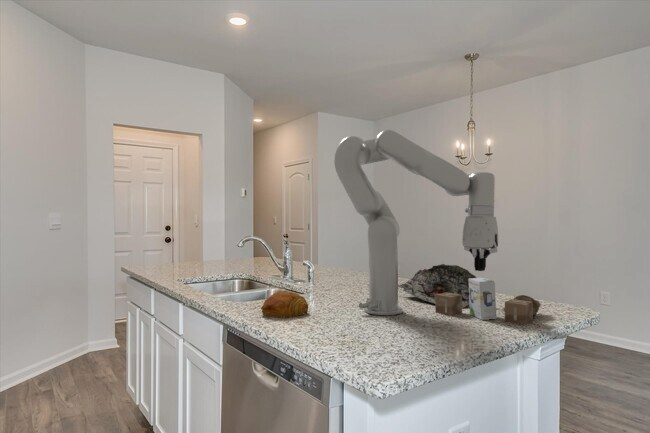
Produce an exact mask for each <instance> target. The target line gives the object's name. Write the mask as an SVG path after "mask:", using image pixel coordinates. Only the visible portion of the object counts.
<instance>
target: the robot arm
mask: <svg viewBox="0 0 650 433" xmlns="http://www.w3.org/2000/svg"><path fill="white" fill-rule="evenodd" d="M388 160H391V161H392V162H394V163H395V164H397V165H399V166H401V167H402V168H404V169H405V170H407V171H409V173H413V174H415V175H416V176H421V177H423V178H425V179H427V180H428V181H430V182H432V183H434V184H436V185H437V186H438V187H441V188H442V189H444V191H445V192H446V194H448V195H449V196H452V197H460V196H461V197H462V196H468V207H467V208H465V210H464V211H465V214H466V213H467V215H468V216H465V217H464V224H463V230H462V239H461V240H462V241H461V242H462V243H461V244H462V246H463V247H464V248H463V250H464V251H467V252H470V254H471V255H472V257H473V258H474V260H473V262H474V264H473V265H474V271H475V272H476V271H478V272H484V271H485V270H486V266H487V258H488V257H489V255H491V254H495V253H498V247H499V230H498V228H499V227H498V222H497V216H495V184H496V183H495V182H496V181H495V179H496V178H495V174H494V173H492V172H485V171H484V172H483V171H482V172H481V171H479V172H473V173H471V174H467V172H465V171H464V170H462V169H460V168H459V167H457V166H455V165H453V164H452V163H451V162H448V161H447V160H445V159H443V158H442V157H440V156H438V155H435V153H432V152H430V151H429V150H427V149H425V148H424V147H422V146H420V145H418V144H417V143H415V142H414V141H412V140H410V139H409V138H407V137H406V136H403V135H402V134H400V133H398V132H396V131H395V130H392V129H384V130H382V131H381V132H379V133H378V134H377V135H376V138H371V139H365V140H363V138H361V137H359V136H355V135H350V136H346V137H344V138H343V139H342V140H341V141H340V142H339V144H338V146H337V147H336V150H335V153H334V160H333V162H334V168H335V172H336V174H337V177H338V179H339V181H340V183H341V184H342V186H343V188H344V190H345V193H346V194H347V196H348V197H349V198H348V199H350V202H351V203H352V206H353V208H354V209H355V211H356V213H358V214H359V215H361V216H363V218H364V220H365V221H366V224H367V225H368V228H367V243H368V244H367V246H368V247H367V248H368V282H369V283H368V297H367V298H366V301H363V302H359V304H358V308H359V309H361V310H362V309H364V310H363V311H364V312H365V313H367V314H370V315H375V316H376V315H377V316H395V315H400V314H402V313H403V310H404V309H403V307H402V306H400V305H399V287H398V285H399V276H398V275H399V267H398V266H399V262H398V257H399V256H398V238H399V235H400V232H401V231H400V230H401V228H400V225H399V222H398V221H397V219H396V217H395V216H394V213H393V212H392V210H391V209H390V207H389V204H388V203H387V201H386V200H385V198H384V197H383V195H382V194H381V193H380V192H379V191H377V190H376V189H375V188H374V187H373V185H372V183H371V182H370V180H369V178H368V176H367V175H366V173H365V171H364V170H363V168H362V166H364V165H369V164H374V163H378V162H383V161H384V162H385V161H388Z"/></svg>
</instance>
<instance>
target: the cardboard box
mask: <svg viewBox="0 0 650 433" xmlns="http://www.w3.org/2000/svg"><path fill="white" fill-rule="evenodd" d="M435 313H436V314H440V313H441V315H446V316H450V317H451V316H456V314H457V315H460V314H463V308H462V295H459V294H453V293H447V292H446V293H441V294H436V304H435Z"/></svg>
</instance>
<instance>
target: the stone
mask: <svg viewBox="0 0 650 433" xmlns="http://www.w3.org/2000/svg"><path fill="white" fill-rule="evenodd" d="M513 299H515V300H523V301H531V302H533V316H534V315H536V314H537V313H538V311H539V310H540V307H541V302H540V301H539V300H536V299H534V298H533V297H531V296H529V295H525V294H522V295H516V296H515V297H514V298H513ZM502 310H503V312H504V313H505V307H503V308H502Z"/></svg>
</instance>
